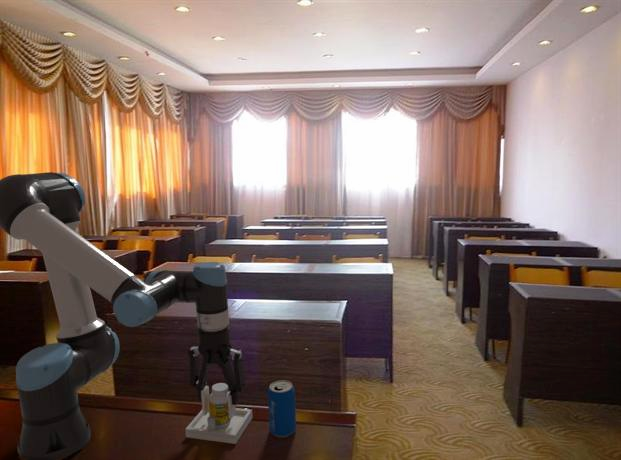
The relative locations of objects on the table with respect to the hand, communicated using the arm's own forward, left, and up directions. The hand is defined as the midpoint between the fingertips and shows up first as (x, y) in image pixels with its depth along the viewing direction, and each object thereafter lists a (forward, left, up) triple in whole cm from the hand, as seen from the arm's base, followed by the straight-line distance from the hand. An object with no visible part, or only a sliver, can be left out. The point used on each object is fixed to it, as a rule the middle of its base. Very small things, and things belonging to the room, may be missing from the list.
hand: (219, 413), depth 113 cm
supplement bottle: (0, 0, -2) cm, 2 cm away
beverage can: (+16, +2, -4) cm, 17 cm away
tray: (0, 0, -4) cm, 4 cm away
